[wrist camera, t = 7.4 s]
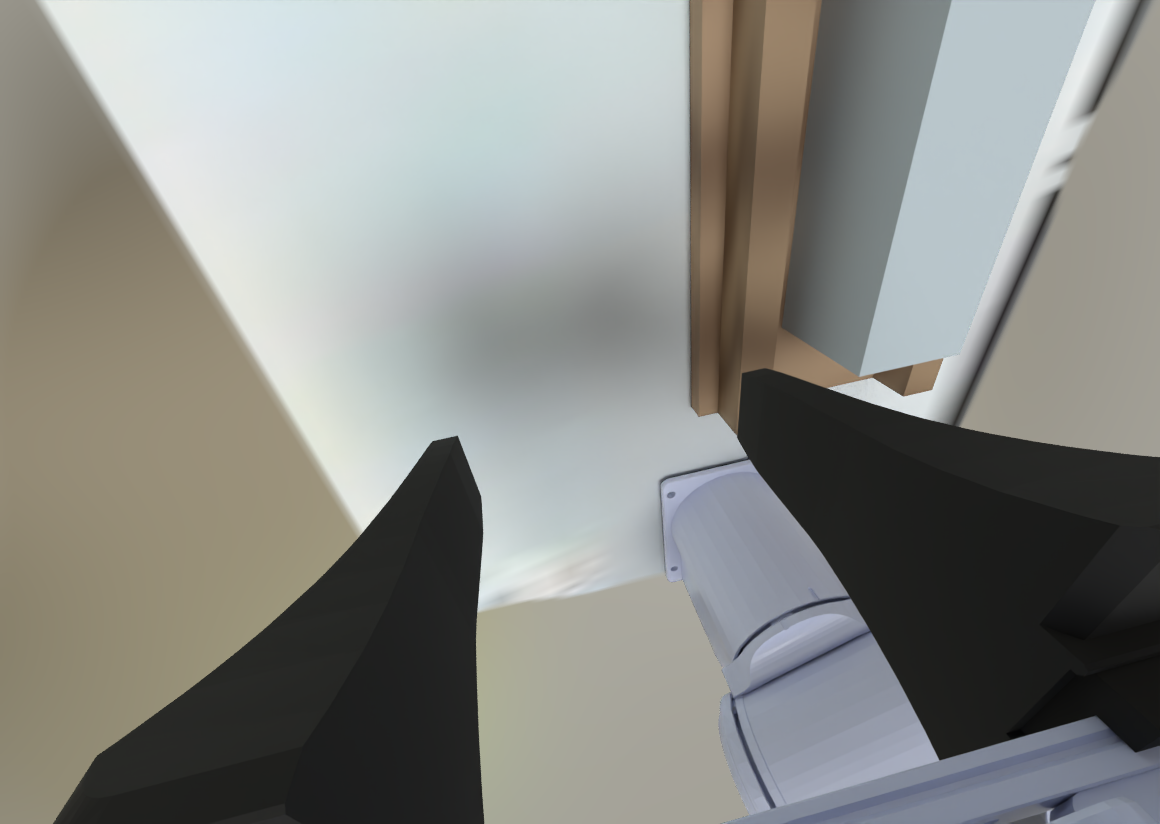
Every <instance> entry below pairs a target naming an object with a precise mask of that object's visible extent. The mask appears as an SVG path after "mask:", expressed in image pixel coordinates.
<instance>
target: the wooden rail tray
mask: <svg viewBox="0 0 1160 824" xmlns="http://www.w3.org/2000/svg"><path fill="white" fill-rule="evenodd" d="M821 4H822V0H690V155H691V407H692V408H693V409H694V411H695V412H696V413H697V415H698V416H699V417H700V416H705V415H709V414H713V413H719V415H720V416H721V417H722V418H723V419H724V421H725V422H726V423H727V424H728V425H729V427H730V428H731V429H732V430H733V431H734V433H735V434H736V435H737V434H738V420H739V406H740V392H741V378H742V373H745V372H749V371H754V370H758V369H763V368H767V369H771V370H775V371H778V372H781V373H784V374H787V375H790V376H793V377H796V378H799V379H802V380H805V381H808V382H810V383H813V384H816V385H819V386H822V387H824V388H829V387H833V386H837V385H842V384H846V383H851V382H855V381H860V380H864V379H868V378H874V379H876V380H877V381H879V382H881V383H882V384H884V385H886V386H887V387H889V388H890V389H892V390H894V391H895V392H897V393H899V394H900V395H902V396H908V395H912V394H916V393H921V392H925V391H929V390H932V388H933V386H934V383H935V380H936V377H937V375H938V372H939V369H940V366H941V364H942V361H943V358H941V359H937V360H932V361H928V362H923V363H919V364H914V365H910V366H906V367H901V368H897V369H892V370H888V371H883V372H879V373H874V374H870V375H866V376H861V377H858V376H857V375H855V374H854V373H852V372H850V371H849V370H847V369H846V368H844V367H843V366H841V365H840V364H838V363H836V362H835V361H833V360H832V359H830V358H829V357H827V356H825V355H824V354H822V353H821V352H819V351H818V350H816V349H815V348H813V347H811V346H810V345H808V344H807V343H805V342H804V341H802V340H801V339H799V338H797V337H796V336H794V335H793V334H791V333H790V332H788V331H786V330H785V329H783V328H782V323H783V314H784V306H785V298H786V290H787V282H788V274H789V265H790V257H791V249H792V241H793V233H794V225H795V216H796V208H797V200H798V192H799V184H800V175H801V167H802V159H803V151H804V143H805V135H806V126H807V118H808V110H809V102H810V94H811V86H812V77H813V69H814V61H815V53H816V45H817V36H818V28H819V20H820V12H821Z"/></svg>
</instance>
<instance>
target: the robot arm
mask: <svg viewBox="0 0 1160 824" xmlns="http://www.w3.org/2000/svg"><path fill="white" fill-rule="evenodd" d="M737 438H738V440H739V442H740V444H741V445H742V447H743V449H744V451H745V452H746V454H747V456H748V458H749V459H750V460H746V461H742V462H737V463H733V464H729V465H725V466H720V467H716V468H712V469H707V470H703V471H699V472H695V473H690V474H686V475H682V476H678V477H673V478H669V479H666V480H665V481H663V482H662V484H661V500H662V517H663V534H664V551H665V568H666V577H667V579H668V581H670V582H676V581H680V580H683V582H684V584H685V586H686V589H687V591H688V593H689V596H690V598H691V600H692V602H693V605H694V607H695V609H696V612H697V614H698V616H699V618H700V621H701V623H702V626H703V628H704V630H705V632H706V635H707V637H708V639H709V642H710V644H711V646H712V649H713V651H714V653H715V656H716V657H717V659H718V661H719V663H720V664H721V666H722V667H723V669H722V672H723V674H724V677H725V679H726V681H727V684H728V686H729V688H730V691H731V692H729V693H727V694H725V695H724V696H723V697H722V699H721V701H720V715H719V734H720V739H721V743H722V747H723V751H724V754H725V757H726V760H727V763H728V766H729V769H730V772H731V774H732V777H733V779H734V782H735V784H736V786H737V789H738V791H739V794H740V796H741V798H742V800H743V802H744V805H745V807H746V809H747V811H748V813H749V816H746V817H742V818H738V819H735V820H731V821H728V822H724V823H721V824H1160V457H1149V456H1139V455H1129V454H1121V453H1113V452H1104V451H1097V450H1089V449H1081V448H1073V447H1066V446H1059V445H1053V444H1046V443H1040V442H1033V441H1028V440H1022V439H1017V438H1011V437H1006V436H1000V435H995V434H989V433H984V432H979V431H974V430H969V429H965V428H961V427H956V426H952V425H948V424H944V423H940V422H935V421H931V420H927V419H923V418H919V417H916V416H912V415H908V414H905V413H901V412H898V411H895V410H891V409H888V408H885V407H881V406H878V405H875V404H871V403H868V402H865V401H862V400H859V399H856V398H853V397H850V396H847V395H844V394H841V393H839V392H836V391H833V390H830V389H827V388H824V387H822V386H819V385H816V384H813V383H810V382H808V381H805V380H802V379H799V378H796V377H793V376H790V375H787V374H784V373H781V372H778V371H775V370H771V369H767V368H763V369H758V370H754V371H749V372H745V373H742V378H741V392H740V406H739V420H738V434H737ZM669 492H671V493H669ZM668 493H669V494H668ZM482 543H483V518H482V502H481V495H480V492H479V490H478V487H477V485H476V482H475V479H474V477H473V474H472V472H471V469H470V467H469V464H468V461H467V459H466V456H465V454H464V451H463V448H462V446H461V443H460V441H459V438H458V436H455V437H450V438H445V439H441V440H436V441H432V443H431V444H430V445H429V447H428V448H427V449H426V451H425V452H424V453H423V455H422V456H421V458H420V459H419V460H418V462H417V463H416V465H415V466H414V468H413V469H412V470H411V472H410V473H409V474H408V476H407V477H406V479H405V480H404V481H403V483H402V484H401V485H400V487H399V488H398V489H397V491H396V492H395V493H394V495H393V496H392V497H391V499H390V500H389V501H388V503H387V504H386V505H385V506H384V507H383V509H382V510H381V511H380V512H379V514H378V515H377V516H376V517H375V518H374V520H373V521H372V522H371V523H370V524H369V526H368V527H367V528H366V529H365V531H364V532H363V533H362V534H361V535H360V537H359V538H358V539H357V540H356V541H355V542H354V543H353V544H352V546H351V547H350V548H349V549H348V550H347V551H346V552H345V553H344V554H343V555H342V556H341V558H339V559H338V561H336V562H335V564H334V565H333V566H332V567H331V568H330V569H329V570H328V571H327V572H326V573H325V574H324V575H323V576H322V577H321V578H320V579H319V580H318V581H317V582H316V583H315V584H314V585H313V586H311V587H310V588H309V589H308V590H307V591H306V592H305V593H304V594H303V595H302V596H300V598H298V599H297V600H296V601H295V602H294V603H293V604H292V605H291V606H290V607H288V608H287V609H286V610H285V611H284V612H283V613H282V614H281V615H280V616H279V617H277V618H276V619H275V620H274V621H273V622H272V623H271V624H270V625H269V626H267V627H266V628H265V629H264V630H263V631H262V632H261V633H259V634H258V635H257V636H256V637H254V638H253V639H252V640H251V641H250V642H248V643H247V644H246V645H245V646H244V647H242V648H241V649H240V650H239V651H238V652H236V653H235V654H234V655H233V656H231V657H230V658H229V659H227V660H226V661H225V662H224V663H223V664H221V665H220V666H219V667H217V668H216V669H215V670H214V671H212V672H211V673H210V674H209V675H207V676H206V677H205V678H203V679H202V680H201V681H200V682H199V683H197V684H196V685H194V686H193V687H192V688H190V689H189V690H188V691H186V692H185V693H184V694H183V695H181V696H180V697H178V698H177V699H175V700H174V701H173V702H171V703H170V704H169V705H167V706H166V707H164V708H163V709H162V710H160V711H159V712H158V713H156V714H155V715H154V716H152V717H151V718H149V719H148V720H147V721H145V722H144V723H143V724H141V725H140V726H138V727H137V728H136V729H134V730H133V731H131V732H130V733H129V734H127V735H126V736H125V737H123V738H122V739H120V740H119V741H118V742H116V743H115V744H113V745H112V746H111V747H109V748H108V749H106V750H105V751H103V752H102V753H100V754H99V755H98V756H97V757H96V758H95V759H94V761H93V762H92V764H91V766H90V767H89V769H88V770H87V772H86V773H85V775H84V777H83V778H82V780H81V781H80V783H79V784H78V786H77V787H76V789H75V791H74V792H73V794H72V795H71V797H70V798H69V800H68V802H67V803H66V805H65V806H64V808H63V809H62V811H61V812H60V814H59V815H58V817H57V818H56V820H55V822H54V823H53V824H484V813H483V799H482V786H481V785H482V784H481V768H480V767H481V766H480V750H479V749H480V748H479V730H478V703H477V673H476V622H477V620H476V619H477V608H478V595H479V583H480V570H481V557H482Z"/></svg>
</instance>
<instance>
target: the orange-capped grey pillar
mask: <svg viewBox="0 0 1160 824" xmlns="http://www.w3.org/2000/svg"><path fill="white" fill-rule="evenodd" d="M1094 3H1095V0H822V4H821V12H820V20H819V28H818V36H817V45H816V53H815V61H814V69H813V77H812V86H811V94H810V102H809V110H808V118H807V126H806V135H805V143H804V151H803V159H802V167H801V175H800V184H799V192H798V200H797V208H796V216H795V225H794V233H793V241H792V249H791V257H790V265H789V274H788V282H787V290H786V298H785V306H784V314H783V323H782V328H783V329H785V330H786V331H788V332H790V333H791V334H793V335H794V336H796V337H797V338H799V339H801V340H802V341H804V342H805V343H807V344H808V345H810V346H811V347H813V348H815V349H816V350H818V351H819V352H821V353H822V354H824V355H825V356H827V357H829V358H830V359H832V360H833V361H835V362H836V363H838V364H840V365H841V366H843V367H844V368H846V369H847V370H849V371H850V372H852V373H854V374H855V375H857V376H858V377H861V376H866V375H870V374H874V373H879V372H883V371H888V370H892V369H897V368H901V367H906V366H910V365H914V364H919V363H923V362H928V361H932V360H937V359H941V358H946V357H950V356H954V355H959V354H960V352H961V349H962V347H963V344H964V342H965V339H966V336H967V334H968V331H969V329H970V326H971V323H972V321H973V318H974V316H975V313H976V310H977V308H978V305H979V303H980V300H981V297H982V295H983V292H984V290H985V287H986V284H987V282H988V279H989V276H990V274H991V271H992V269H993V266H994V263H995V261H996V258H997V256H998V253H999V250H1000V248H1001V245H1002V243H1003V240H1004V237H1005V235H1006V232H1007V230H1008V227H1009V224H1010V222H1011V219H1012V217H1013V214H1014V211H1015V209H1016V206H1017V203H1018V201H1019V198H1020V196H1021V193H1022V190H1023V188H1024V185H1025V183H1026V180H1027V177H1028V175H1029V172H1030V170H1031V167H1032V164H1033V162H1034V159H1035V157H1036V154H1037V151H1038V149H1039V146H1040V144H1041V141H1042V138H1043V136H1044V133H1045V131H1046V128H1047V125H1048V123H1049V120H1050V117H1051V115H1052V112H1053V110H1054V107H1055V104H1056V102H1057V99H1058V97H1059V94H1060V91H1061V89H1062V86H1063V84H1064V81H1065V78H1066V76H1067V73H1068V71H1069V68H1070V65H1071V63H1072V60H1073V58H1074V55H1075V52H1076V50H1077V47H1078V44H1079V42H1080V39H1081V37H1082V34H1083V31H1084V29H1085V26H1086V24H1087V21H1088V18H1089V16H1090V13H1091V11H1092V8H1093V5H1094Z"/></svg>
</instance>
